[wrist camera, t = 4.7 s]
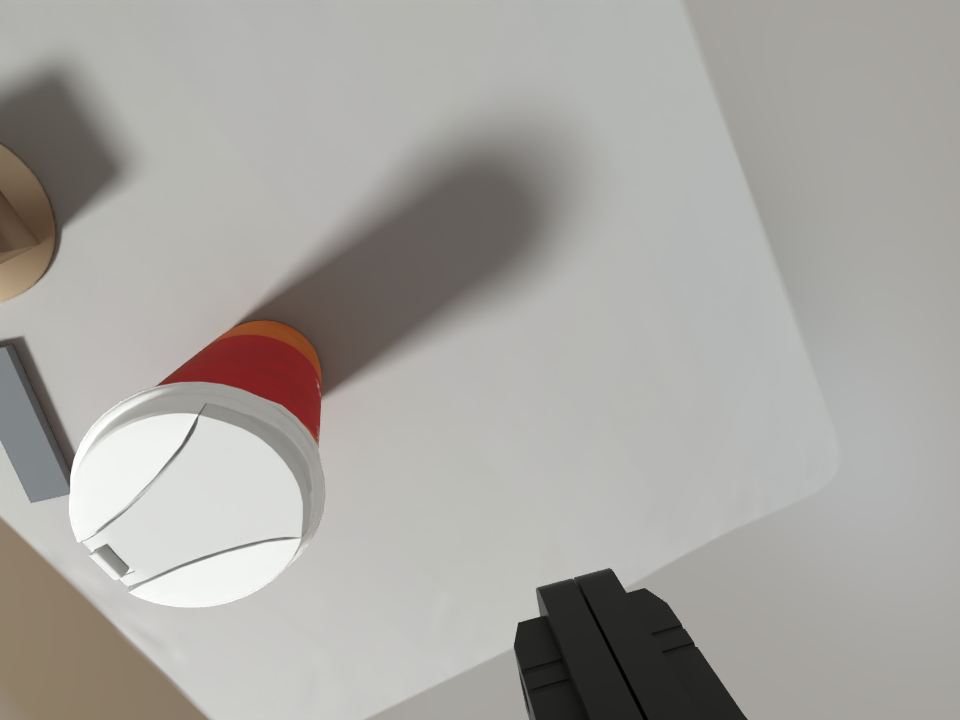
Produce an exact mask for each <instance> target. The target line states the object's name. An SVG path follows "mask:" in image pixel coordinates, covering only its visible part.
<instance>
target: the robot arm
mask: <svg viewBox="0 0 960 720" xmlns="http://www.w3.org/2000/svg"><path fill="white" fill-rule="evenodd" d="M536 593H537V600H538V605H539V611H540V617H538V618H534V619H530V620H527V621H523V622H519V623H518V627H517V632H516V637H515V643H514V650H515V655H516V660H517V665H518V670H519V675H520V680H521V685H522V690H523V695H524V700H525V705H526V709H527V713H528V716H529V720H747V718H746V717H745V716H744V714H743V713H742V712H741V710H740V709H739V707H738V706H737V705H736V703H735V701H734V700H733V699H732V697H731V696H730V694H729V693H728V691H727V690H726V688H725V687H724V685H723V684H722V683H721V681H720V679H719V678H718V677H717V675H716V674H715V672H714V671H713V669H712V668H711V666H710V665H709V664H708V662H707V661H706V659H705V658H704V656H703V655H702V653H701V652H700V650H699V649H698V647H695V645H694V642H693V640H692V639H691V637H690V636H689V634H688V633H687V631H686V630H685V629H683V627H682V624H681V623H680V621H679V620H678V618H677V617H676V615H675V614H674V613H673V611H672V610H671V608H670V607H669V605H668V604H667V603H666V602H664V601H663V600H661V599H660V598H659V597H657V596H656V595H654V594H653V593H651V592H650V591H648V590H647V589H645V588H644V589H640V590H636V591H632V592H629V593H626V591H625V590H624V588H623V586H622V585H621V583H620V581H619V580H618V578H617V577H616V575H615V573H614V572H613V571H612V569H610V568H608V569H605V570H601V571H597V572H593V573H590V574H586V575H582V576H578V577H575V578H574V580H573V579H568V580H564V581H560V582H557V583H553V584H549V585H545V586H542V587H538V588H536Z"/></svg>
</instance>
